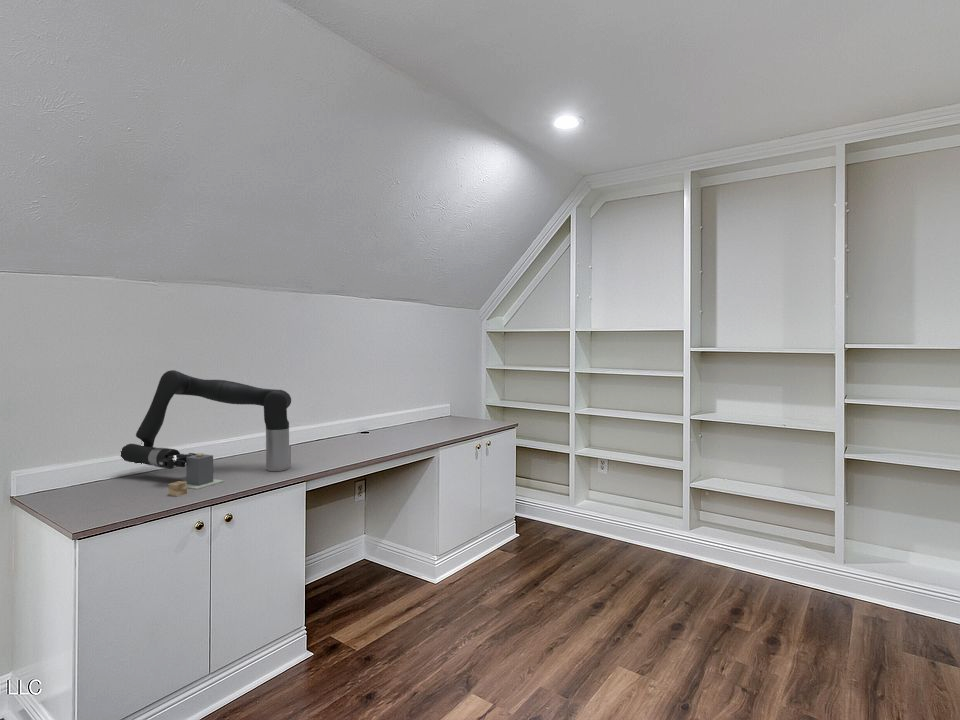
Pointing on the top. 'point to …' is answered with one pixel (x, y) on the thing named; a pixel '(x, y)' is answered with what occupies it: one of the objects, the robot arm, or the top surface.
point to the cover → (199, 469)
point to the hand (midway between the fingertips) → (194, 462)
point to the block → (178, 488)
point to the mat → (204, 484)
